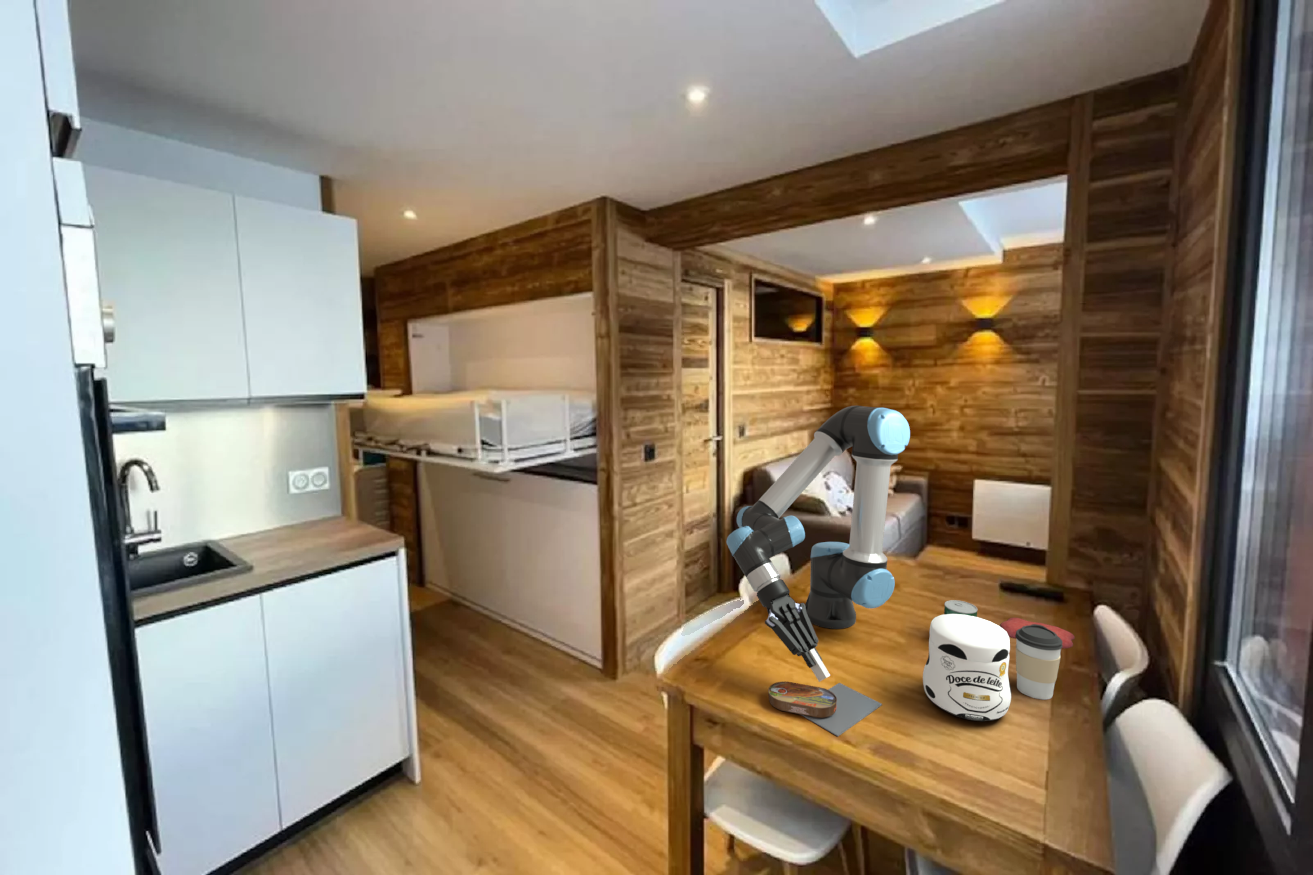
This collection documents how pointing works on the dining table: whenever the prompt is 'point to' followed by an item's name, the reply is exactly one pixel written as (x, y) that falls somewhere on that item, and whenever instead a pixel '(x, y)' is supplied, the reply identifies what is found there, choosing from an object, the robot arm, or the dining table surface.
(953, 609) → the canned tomato
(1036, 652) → the coffee cup
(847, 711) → the slate board
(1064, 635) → the red flat irregular piece
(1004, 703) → the doce de leite jar
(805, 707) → the tin
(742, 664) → the dining table surface
